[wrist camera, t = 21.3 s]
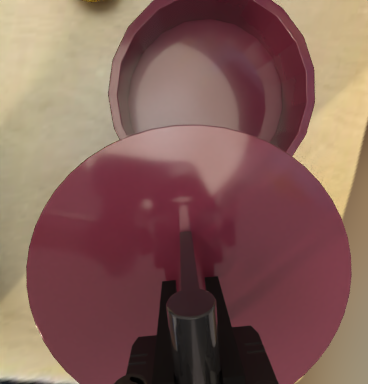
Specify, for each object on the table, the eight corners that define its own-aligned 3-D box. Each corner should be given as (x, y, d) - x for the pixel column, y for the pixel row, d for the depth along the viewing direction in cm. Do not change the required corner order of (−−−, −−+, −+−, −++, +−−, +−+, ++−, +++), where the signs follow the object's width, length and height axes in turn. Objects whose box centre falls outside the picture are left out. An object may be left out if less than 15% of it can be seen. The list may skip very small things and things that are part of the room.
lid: (66, 416, 20) (-20, 638, 11) (4, 141, 16) (-212, 154, 7) (336, 390, 20) (459, 591, 11) (345, 109, 16) (553, 83, 7)
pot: (136, 194, 33) (127, 209, 27) (109, 24, 29) (91, -5, 23) (290, 175, 33) (316, 186, 27) (284, 3, 29) (312, -32, 23)
